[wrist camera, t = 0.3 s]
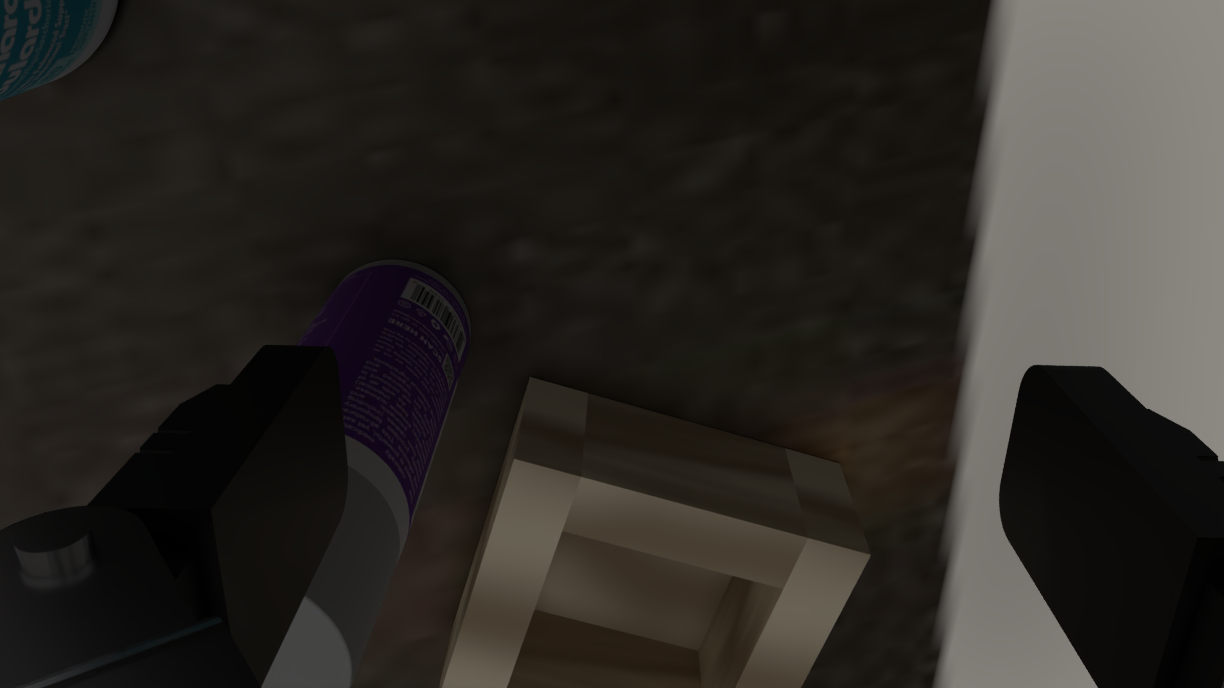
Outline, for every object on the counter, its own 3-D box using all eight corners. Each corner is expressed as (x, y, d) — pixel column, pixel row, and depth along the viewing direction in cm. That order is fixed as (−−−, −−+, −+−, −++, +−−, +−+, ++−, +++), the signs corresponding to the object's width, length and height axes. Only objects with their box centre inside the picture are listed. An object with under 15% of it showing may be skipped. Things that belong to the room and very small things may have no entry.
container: (320, 255, 31) (85, 557, 18) (469, 260, 31) (347, 566, 18) (334, 387, 33) (132, 747, 20) (474, 392, 33) (368, 754, 20)
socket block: (530, 377, 33) (513, 458, 29) (839, 463, 34) (871, 555, 30) (453, 623, 38) (429, 726, 33) (728, 691, 39) (741, 800, 35)
